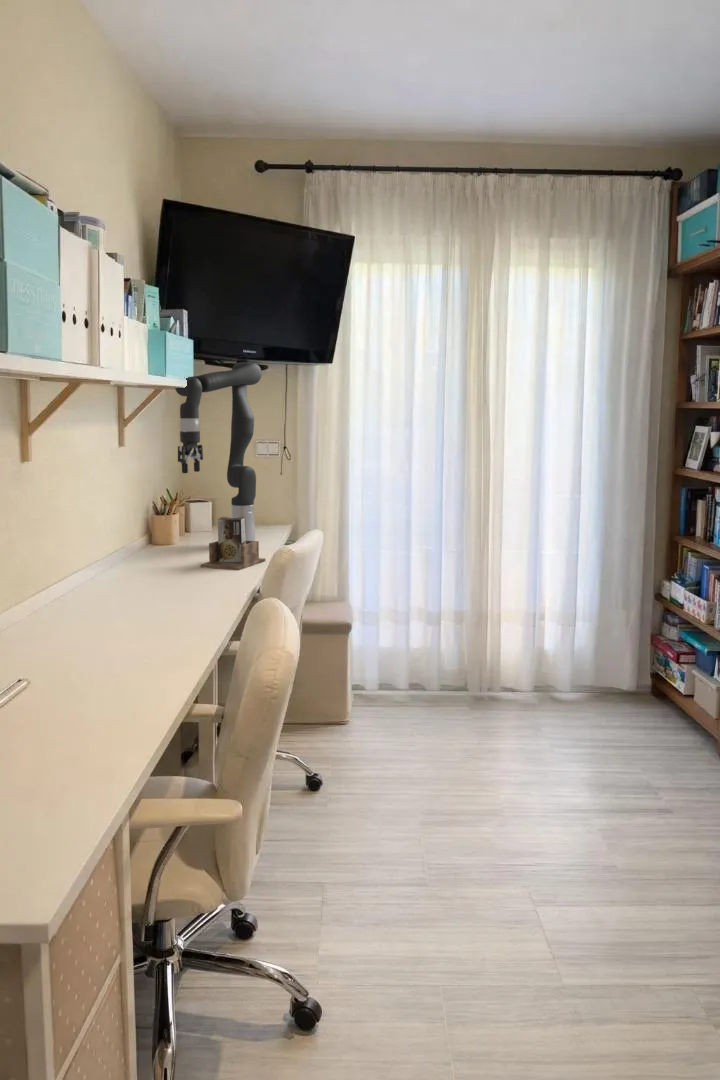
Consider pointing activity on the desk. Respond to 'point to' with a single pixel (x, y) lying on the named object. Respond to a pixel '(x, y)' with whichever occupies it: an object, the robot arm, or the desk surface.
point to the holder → (247, 559)
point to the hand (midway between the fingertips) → (191, 472)
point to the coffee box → (231, 538)
